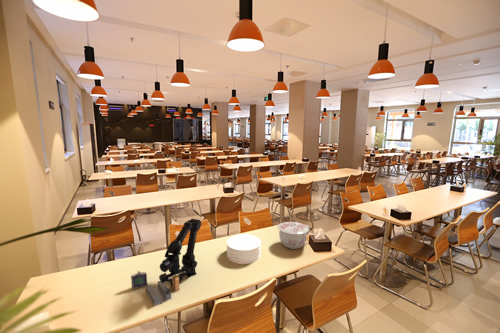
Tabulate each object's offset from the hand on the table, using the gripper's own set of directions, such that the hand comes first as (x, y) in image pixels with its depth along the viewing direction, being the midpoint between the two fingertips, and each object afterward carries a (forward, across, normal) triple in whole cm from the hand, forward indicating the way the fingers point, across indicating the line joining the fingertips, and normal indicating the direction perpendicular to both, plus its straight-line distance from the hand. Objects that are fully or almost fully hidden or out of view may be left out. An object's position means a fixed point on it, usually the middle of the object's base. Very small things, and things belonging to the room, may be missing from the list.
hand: (175, 285), depth 153 cm
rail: (+2, +11, 0) cm, 11 cm away
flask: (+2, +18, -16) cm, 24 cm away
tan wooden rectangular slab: (+2, 0, 0) cm, 2 cm away
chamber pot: (+2, -104, +10) cm, 105 cm away
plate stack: (+2, -60, -5) cm, 60 cm away
